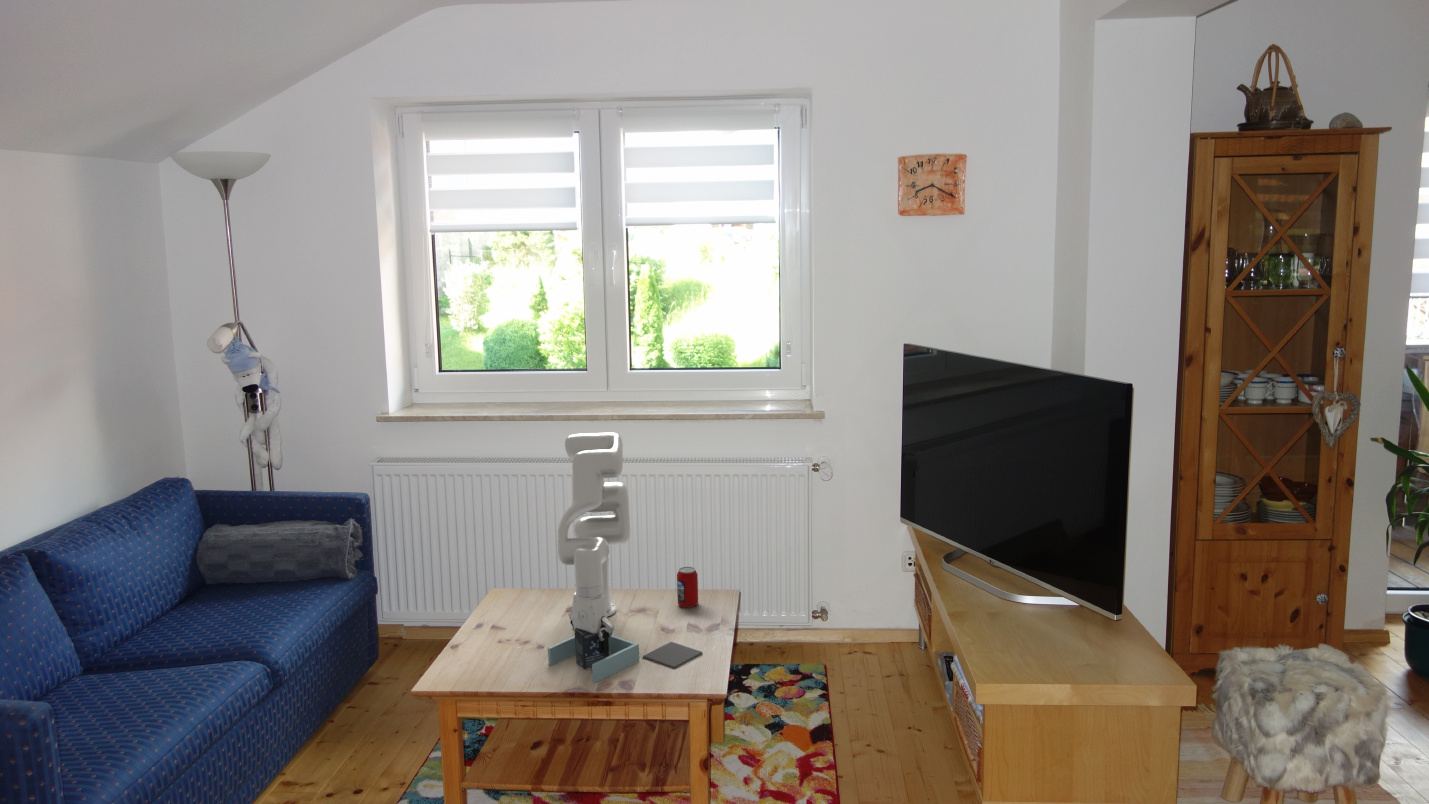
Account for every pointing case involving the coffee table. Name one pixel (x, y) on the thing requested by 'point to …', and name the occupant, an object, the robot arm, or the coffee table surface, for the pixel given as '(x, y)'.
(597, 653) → the box
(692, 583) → the beverage can
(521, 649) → the coffee table surface
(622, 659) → the cubby
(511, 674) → the coffee table surface
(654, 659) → the mat
